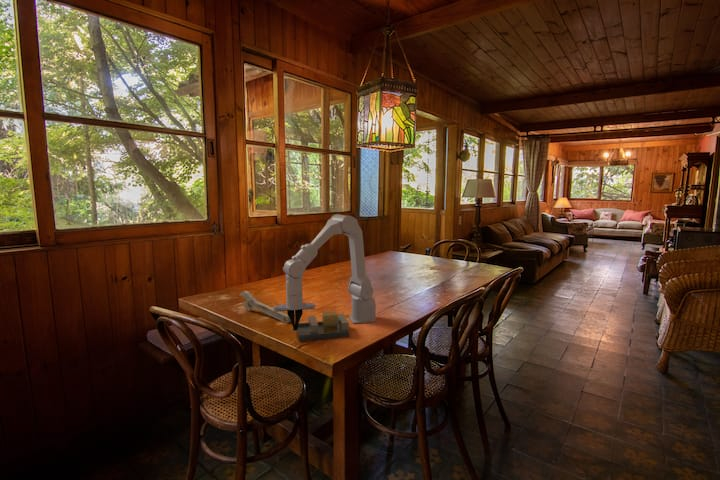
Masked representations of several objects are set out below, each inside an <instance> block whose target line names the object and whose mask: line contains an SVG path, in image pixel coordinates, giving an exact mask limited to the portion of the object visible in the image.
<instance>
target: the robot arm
mask: <svg viewBox="0 0 720 480" xmlns="http://www.w3.org/2000/svg"><path fill="white" fill-rule="evenodd" d="M358 222H359V221H358V219H357V218H355V217H354V216H352V215H345V214H344V215H343V214H340V213H336V214H333V215H332V216H331V217H330V218H329V219H328V220H327V222H326V224H325V225H324V227H322V229H321V231H319V233H318V234H317V235H316V237H315V238H314V239H313V240H312V241H311V242H310V243H306V244H302V245H301V246H300V249H299V250H298V251H297V253H296V254H295V255H292V256H291V259H288V260H286V261H285V263H284V264H283V265H284V266H283V267H282V271H283V273H284V275H285V294H286V295H285V297H286V303H282V304H278V305H273V308H274V313H276V312H287V313H286V314H287V315H288V316H289V318H290V320H291V322H290V323H291V326H292V331H293V332H294V331H296V332H297V328H298V324H299V323H300V321H301V318H302V316H303V314H304V313H303V311H306V310H307V311H308V310H313V311H316V304H315V302H303V275H305V273H306V269H307V267H308V266H309V265H310V263H311V262H312V261H313V260H314V259H315V258H316V257H317V256H318V250H319V249H320V248H321V247H322V246H323V245H324V244H325V243H326V242H327V241H328V240H329V239H330V238H331V237H333V236H335V235H340V234H341V235H342V234H344V235H345V236H346V237H347V238H348V244H349V245H348V247H349V253H350V256H349V257H350V266H351V276H350V277H349V284H348V287H347V289H348V292H349V294H350V297H351V314H350V315H349V316H348V318H349V319H350V320H351V323H352V324H361V323H362V324H363V323H370V322H371V323H375V322H377V320H376V315H377V314H376V313H377V312H376V308H377V307H376V299H375V298H374V297H373V295H374V288H373V286H372V282H371V279H370V278H369V276H367V272H366V271H367V270H366V261H365V248H364V247H365V246H364V235H363V230H362V228H361V227H360V225H359V223H358Z"/></svg>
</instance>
